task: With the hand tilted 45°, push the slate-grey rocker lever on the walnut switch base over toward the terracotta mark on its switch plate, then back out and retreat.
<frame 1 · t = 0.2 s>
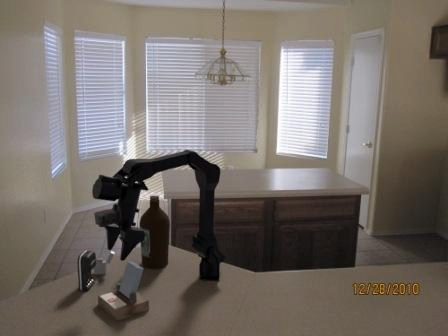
hand: (115, 255, 131), 15 cm above the worktop, tool tilted 15°, fingers open, 9 cm apart
olive oil: (154, 264, 163), on the worktop
lighter: (104, 273, 155), on the worktop
rocker: (130, 280, 133), point 8 cm above the worktop, hinge at -20.0°
battery charger: (88, 287, 145), on the worktop
switch base: (126, 305, 134), on the worktop
switch plate: (126, 296, 133), resting on switch base
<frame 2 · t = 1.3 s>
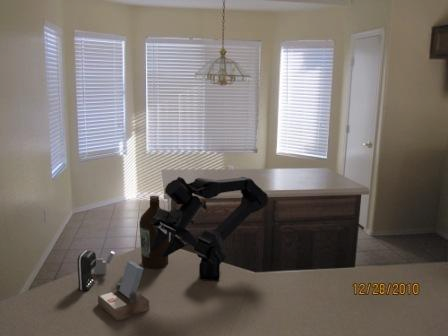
hand: (156, 254, 138), 14 cm above the worktop, tool tilted 45°, fingers open, 6 cm apart
nothing on the worktop moved.
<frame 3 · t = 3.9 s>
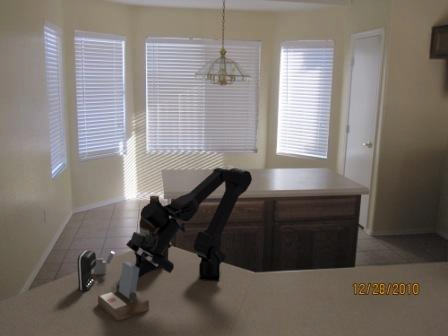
hand: (132, 279, 133), 8 cm above the worktop, tool tilted 45°, fingers closed, pressing on rocker
rocker: (128, 280, 133), point 8 cm above the worktop, hinge at -11.3°, touching gripper
everything else where it was.
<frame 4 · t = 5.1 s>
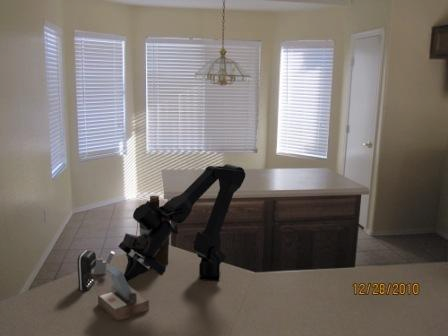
hand: (123, 281, 131), 8 cm above the worktop, tool tilted 45°, fingers closed, pressing on rocker
rocker: (120, 283, 131), point 8 cm above the worktop, hinge at 20.9°, touching gripper
everything else where it was.
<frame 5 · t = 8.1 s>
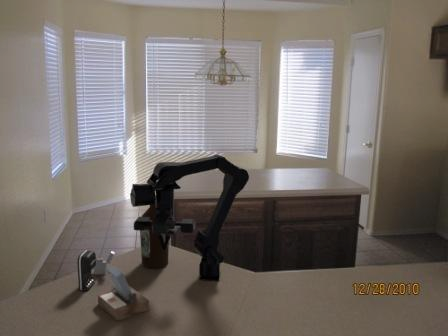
hand: (164, 250, 145), 12 cm above the worktop, tool pointing down, fingers closed
rocker: (120, 283, 131), point 8 cm above the worktop, hinge at 21.1°
everything else where it was.
at the end: rocker at +21° (first picture: -20°); battery charger moved 0.2 cm from its start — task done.
